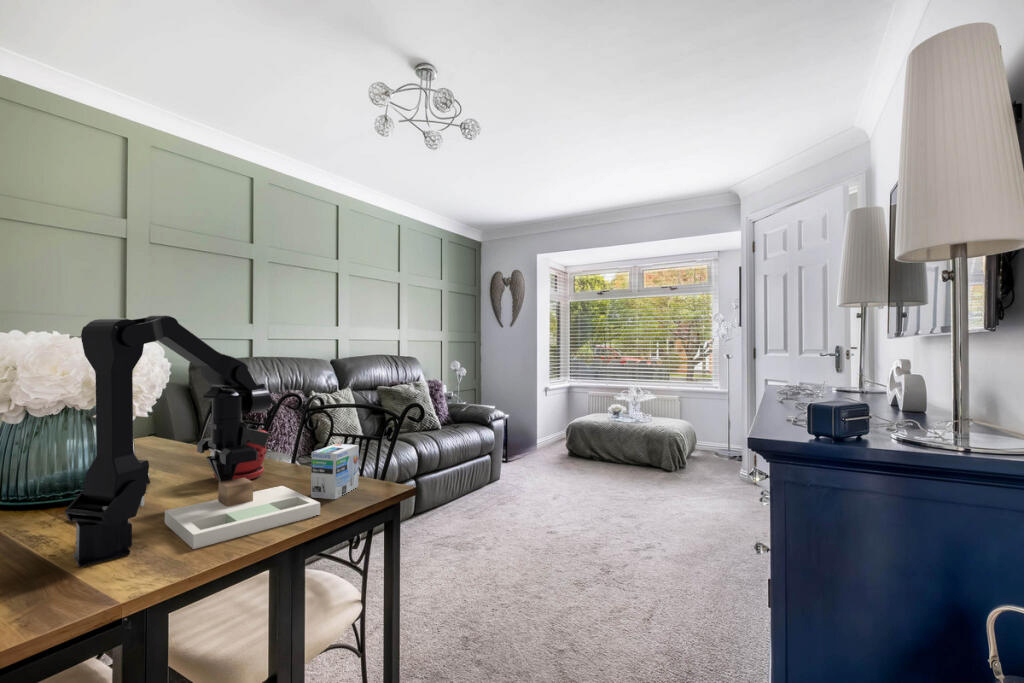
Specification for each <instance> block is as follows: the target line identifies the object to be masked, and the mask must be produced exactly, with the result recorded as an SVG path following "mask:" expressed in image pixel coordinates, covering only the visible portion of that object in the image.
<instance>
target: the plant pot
mask: <svg viewBox="0 0 1024 683" xmlns="http://www.w3.org/2000/svg"><path fill="white" fill-rule="evenodd" d="M258 431H263V432H266V433H268V431H266V430H263V429H258ZM247 445H249V446H251V447H254V448H255V449H256V450H257V451H258V460H255V461H249V462H243V463H239V464H238V465H237V468H236V470H235V473H234V476H233V479H232V480H234V479H239V478H246V479H248V480H250V481H251V480H252V479H256V478H258V477H260V476H261V475H262V474H263V473H264V470H265V468H264V466H263V462H264V460H265V457H266V454H267V445H266V446H265V447H261V446H260V445H256V444H252V443H247ZM213 476H214V478H215V479H216V480H218V479H217V477H216V475H215V473H214V472H213Z"/></svg>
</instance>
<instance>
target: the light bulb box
mask: <svg viewBox="0 0 1024 683" xmlns="http://www.w3.org/2000/svg"><path fill="white" fill-rule="evenodd" d="M359 451H360V445H359V444H347V443H333V444H331V445H328V446H326V447H323V448H320V449H317V450H314V451H312V452H311V462H310V464H311V466H310V467H311V470H310V471H311V472H310V478H311V479H310V480H311V481H310V483H311V484H310V498H311V499H313V498H315V499H327V500H334V499H335V500H337V499H339V498H341V497H343V496H345V495H346V493H347V494H348V492H349V493H350V492H352V491H354V490H356V489H358V488H359V458H360V457H359V456H360V452H359ZM357 487H358V488H357ZM355 488H356V489H355ZM353 489H354V490H353ZM351 490H352V491H351ZM344 494H345V495H344ZM342 495H343V496H342Z"/></svg>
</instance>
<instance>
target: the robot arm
mask: <svg viewBox="0 0 1024 683" xmlns="http://www.w3.org/2000/svg"><path fill="white" fill-rule="evenodd" d="M80 333H81V334H80V339H81V344H82V348H83V354H84V356H85V358H86V360H87V361H88V362H89V364H90V366H91V367H92V369H93V370H94V373H95V436H96V438H95V439H96V442H95V443H96V444H95V446H96V448H95V449H96V455H95V458H94V460H93V461H92V463H91V465H90V466H89V468H88V470H87V471H86V473H85V477H84V485H83V489H82V490H81V491H80V492H79V493H78V495H76V497H75V498H74V499H73V501H71V503H70V504H69V505H68V506H67V507H66V508H65V510H64V513H65V516H66V518H67V520H68V521H69V522H75V523H76V524H75V526H76V533H75V536H76V537H75V552H74V553H73V558H74V560H75V562H76V564H77V567H79V568H84V567H86V566H90V565H95V564H99V563H103V562H107V561H111V560H115V559H118V558H123V557H126V556H130V555H131V550H130V549H131V548H132V546H133V544H132V543H133V523H132V522H131V521H130V520H129V519H132V518H135V517H136V516H137V514H138V510H139V505H140V502H141V499H142V497H143V496H144V497H145V495H146V494H147V493H146V492H147V484H151V481H150V477H149V469H150V463H149V460H144V459H138V457H137V456H136V454H135V452H134V391H133V390H134V388H133V387H134V386H133V383H134V382H133V380H134V379H133V377H134V374H133V372H134V369H135V367H136V365H137V364H138V363H139V361H140V359H141V358H142V356H143V354H144V346H145V344H149V343H153V342H159V343H161V344H162V345H164V346H165V347H167V348H168V349H170V350H171V351H173V352H174V353H175V354H177V355H179V356H180V357H182V358H183V359H185V360H186V361H188V362H190V363H191V364H192V365H193V366H195V367H197V369H198V370H199V373H200V376H202V378H203V379H205V380H206V382H208V384H210V386H212V387H211V388H210V389H209V390H208V391H206V392H205V394H203V395H202V398H203V399H208V400H210V399H211V421H210V422H208V428H210V429H211V433H210V434H211V436H210V437H207V438H201V439H200V440H199V441H198V442H197V444H196V452H197V453H200V454H204V453H205V451H210V452H209V453H210V454H209V456H206V457H205V458H206V460H207V461H208V464H209V466H210V467H211V469H212V471H213V474H214V473H215V475H216V477H217V479H216V480H217V481H218V483H219V482H223V481H228V480H232V479H233V476H234V473H235V470H236V468H237V465H238V464H239V463H243V462H249V461H255V460H258V451H257V450H256V449H255V448H254V447H251V446H249V445H247V443H252V444H256V445H260V446H261V447H265V446H266V447H267V443H268V441H269V437H270V436H271V433H269V432H267V431H266V432H267V433H266V432H263V431H258V425H255V424H252V423H251V424H250V423H248V424H247V422H246V421H243V415H249V414H256V413H261V412H266V411H267V410H269V409H270V407H271V406H272V402H273V397H272V396H271V393H270V391H268V389H266V387H265V386H266V385H265V383H261V382H260V383H259V382H257V383H256V381H255V379H254V378H253V376H252V375H251V373H250V371H249V367H248V365H247V364H246V363H245V361H242V360H241V359H238V358H236V357H235V356H231V355H228V354H225V353H221V352H220V351H217V350H216V349H215V348H213V347H212V346H210V345H209V344H208V343H206V342H205V341H204V340H202V339H201V338H199V337H198V336H197V335H195V334H194V333H193V332H191V331H190V330H189V329H187V328H186V327H184V326H183V325H182V324H181V323H179V321H178V320H177V319H176V318H175V317H172V316H171V315H149V316H147V317H142V318H140V317H139V318H134V319H129V318H100V319H94V320H91V321H89V322H88V323H87V324H86V325H85V326H83V328H82V329H81V332H80ZM145 493H146V494H145ZM103 506H106V507H107V508H106V509H102V507H103Z"/></svg>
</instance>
